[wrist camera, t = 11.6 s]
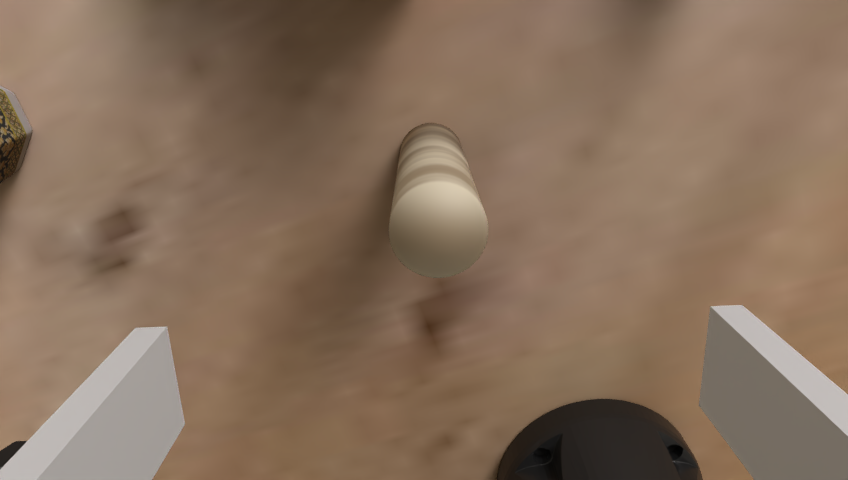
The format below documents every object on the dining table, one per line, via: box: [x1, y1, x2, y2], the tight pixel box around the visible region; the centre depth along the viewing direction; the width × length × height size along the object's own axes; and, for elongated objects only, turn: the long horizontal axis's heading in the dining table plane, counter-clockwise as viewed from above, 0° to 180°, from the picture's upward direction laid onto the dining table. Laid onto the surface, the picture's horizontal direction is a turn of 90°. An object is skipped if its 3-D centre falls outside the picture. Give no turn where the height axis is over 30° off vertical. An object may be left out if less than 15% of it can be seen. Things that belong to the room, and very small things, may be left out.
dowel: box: [389, 123, 488, 278], centre depth 33 cm, size 4×4×16 cm
